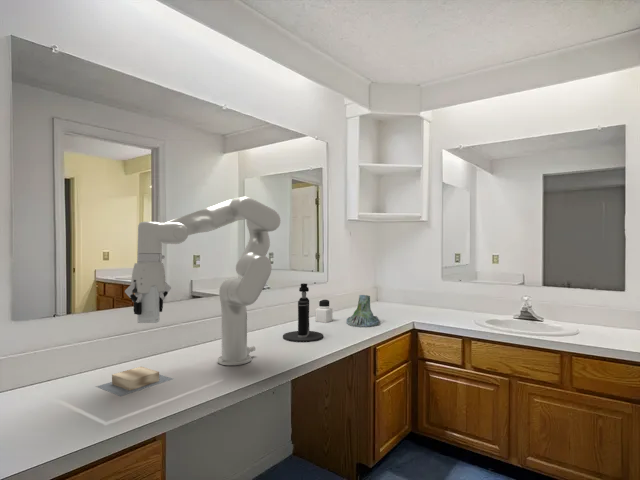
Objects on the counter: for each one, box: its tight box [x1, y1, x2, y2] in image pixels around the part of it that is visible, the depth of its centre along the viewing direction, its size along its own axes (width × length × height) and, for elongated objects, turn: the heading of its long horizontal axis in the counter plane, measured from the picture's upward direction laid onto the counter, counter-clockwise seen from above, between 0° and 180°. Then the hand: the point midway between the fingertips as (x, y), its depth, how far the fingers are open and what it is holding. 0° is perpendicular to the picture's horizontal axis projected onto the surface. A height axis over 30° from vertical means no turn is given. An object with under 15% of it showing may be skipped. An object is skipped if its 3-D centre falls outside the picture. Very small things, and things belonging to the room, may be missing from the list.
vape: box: [282, 283, 324, 343], centre depth 195 cm, size 19×19×25 cm
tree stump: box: [346, 294, 380, 328], centre depth 228 cm, size 18×20×18 cm
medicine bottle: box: [315, 299, 333, 324], centre depth 233 cm, size 7×7×12 cm
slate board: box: [95, 373, 174, 397], centre depth 132 cm, size 18×14×1 cm
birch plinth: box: [111, 366, 160, 390], centre depth 132 cm, size 10×10×3 cm
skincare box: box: [137, 286, 160, 324], centre depth 136 cm, size 6×4×12 cm
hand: (148, 312), depth 136 cm, fingers closed on skincare box, 6 cm apart
